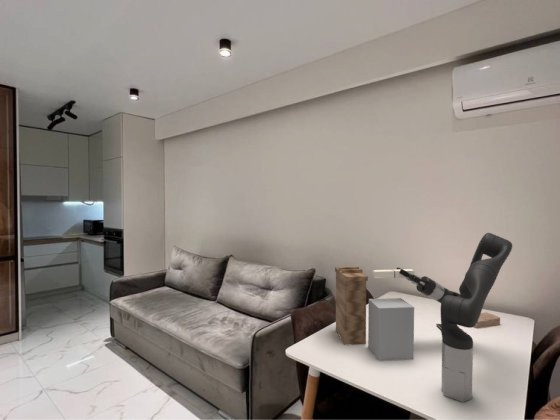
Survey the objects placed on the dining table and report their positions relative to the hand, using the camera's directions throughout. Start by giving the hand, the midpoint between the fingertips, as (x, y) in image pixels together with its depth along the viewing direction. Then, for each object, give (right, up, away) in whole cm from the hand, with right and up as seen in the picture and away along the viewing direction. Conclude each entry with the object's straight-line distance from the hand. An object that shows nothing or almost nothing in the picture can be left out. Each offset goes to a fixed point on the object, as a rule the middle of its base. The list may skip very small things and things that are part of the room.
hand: (398, 270), depth 139 cm
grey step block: (-5, -35, -4) cm, 36 cm away
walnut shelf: (-19, -35, +12) cm, 42 cm away
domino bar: (-3, -3, 0) cm, 4 cm away
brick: (+55, -34, +27) cm, 70 cm away
